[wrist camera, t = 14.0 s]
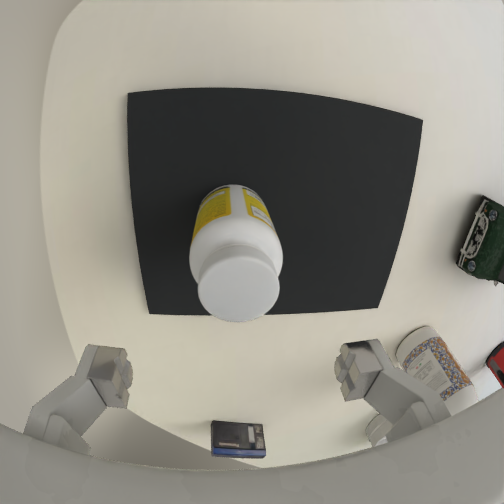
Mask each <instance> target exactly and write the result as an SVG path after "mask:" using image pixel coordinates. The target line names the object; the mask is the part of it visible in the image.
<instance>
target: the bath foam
mask: <svg viewBox="0 0 504 504" xmlns="http://www.w3.org/2000/svg"><path fill="white" fill-rule="evenodd" d="M396 356H397V359H398V361H399V363H400V365H401V367H402V368H403V370H404V372H406V373H408V374H409V375H411V376H412V377H414V378H415V379H417V380H419V381H420V382H422V383H423V384H425V385H427V386H428V387H430V388H431V389H433V390H435V391H436V392H438V393H439V394H440V396H441V398H442V400H443V401H444V403H445V405H446V407H447V409H448V411H449V412H450V414H451V416H453V415H455V414H457V413H459V412H461V411H462V410H464V409H466V408H468V407H470V406H472V405H474V404H475V403H477V402H478V396H477V393H476V390H475V388H474V385H473V384H472V382H471V381H470V379H469V378H468V376H467V375H466V373H465V371H464V370H463V368H462V367H461V365H460V364H459V362H458V361H457V360H456V358H455V357H454V355H453V354H452V352H451V351H450V349H449V348H448V347H447V345H446V344H445V342H444V341H443V340H442V338H441V337H440V336H439V334H438V333H437V332H436V330H435V329H434V328H432V327H422V328H419V329H417V330H416V331H414V332H413V333H411V334H410V335H408V336H407V337H406V338H405V339H404V340H403V341H402V343H401V344H400V346H399V347H398V350H397V354H396Z"/></svg>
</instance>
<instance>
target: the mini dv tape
mask: <svg viewBox="0 0 504 504" xmlns="http://www.w3.org/2000/svg"><path fill="white" fill-rule="evenodd" d="M211 454H212V456H216V457H230V458H264V457H265V456H266V448H265V441H264V433H263V426H262V424H245V423H232V422H222V421H213V422H212V424H211Z"/></svg>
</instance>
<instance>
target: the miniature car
mask: <svg viewBox="0 0 504 504" xmlns="http://www.w3.org/2000/svg"><path fill="white" fill-rule="evenodd" d="M480 205H481V206H480V208H479V210H478V211H477V212H476V213H475V214H476V217H475V220H474V222H473V225H472V227H471V229H470V232H469V234H468V236H467V239H466V242H465V244H464V247H463V249H462V248H461V250H460V251H461V252H462V253H460V254H459V256H458V259H457V262H456V264H457V266H458V267H459V268H461V269H462V270H464V271H465V272H466V273H467V274H469V275H472V276H475V277H476V278H478V279H487V280H488V281H489V280H493V281H494V284H495V286H496V285H497V284H498V282H501V283H503V284H504V206H502V205H500V204H498V203H497V202H495V201H493V200H491V199H489V198H487V197H486V196H484V195H482V199H481V202H480ZM474 226H475V227H474ZM473 228H474V229H473ZM472 231H473V232H472ZM471 233H472V234H471ZM470 236H471V237H470ZM469 238H470V239H469ZM467 243H468V244H467ZM497 281H498V282H497Z"/></svg>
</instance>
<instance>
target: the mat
mask: <svg viewBox="0 0 504 504" xmlns="http://www.w3.org/2000/svg"><path fill="white" fill-rule="evenodd" d="M422 124H423V120H421V119H418V118H415V117H412V116H408V115H405V114H402V113H398V112H394V111H391V110H387V109H383V108H379V107H375V106H371V105H366V104H362V103H357V102H352V101H347V100H342V99H337V98H331V97H325V96H318V95H312V94H304V93H296V92H287V91H277V90H265V89H248V88H180V89H164V90H152V91H142V92H133V93H128V102H127V126H128V157H129V174H130V188H131V199H132V209H133V218H134V226H135V234H136V242H137V249H138V255H139V262H140V268H141V274H142V279H143V285H144V290H145V295H146V300H147V305H148V310H149V314H163V315H212V314H210V313H209V312H208V311H207V310H206V309H205V308H204V307H203V305H202V303H201V301H200V299H199V295H198V283H197V282H196V280H195V279H194V277H193V275H192V272H191V268H190V262H189V256H190V247H191V243H192V238H193V233H194V228H195V224H196V219H197V214H198V210H199V207H200V205H201V203H202V201H203V200H204V198H205V197H206V196H207V195H208V194H209V193H210V192H211V191H213V190H214V189H216V188H219V187H221V186H225V185H241V186H244V187H247V188H249V189H251V190H253V191H254V192H255V193H256V194H257V195H258V196H259V197H260V198H261V199H262V201H263V202H264V204H265V206H266V209H267V211H268V214H269V216H270V218H271V221H272V223H273V226H274V228H275V231H276V233H277V236H278V238H279V241H280V244H281V248H282V253H283V262H282V268H281V271H280V274H279V276H278V280H279V287H280V289H279V295H278V298H277V300H276V302H275V304H274V305H273V307H272V308H271V309H270V310H269V311H268V312H266V313H265V314H264V315H274V314H299V313H318V312H334V311H348V310H360V309H372V308H378V306H379V303H380V300H381V298H382V295H383V292H384V289H385V286H386V283H387V280H388V277H389V274H390V271H391V268H392V265H393V262H394V258H395V255H396V252H397V248H398V245H399V241H400V238H401V234H402V230H403V226H404V222H405V218H406V214H407V210H408V206H409V201H410V197H411V192H412V187H413V182H414V177H415V172H416V166H417V160H418V154H419V147H420V140H421V133H422Z"/></svg>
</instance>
